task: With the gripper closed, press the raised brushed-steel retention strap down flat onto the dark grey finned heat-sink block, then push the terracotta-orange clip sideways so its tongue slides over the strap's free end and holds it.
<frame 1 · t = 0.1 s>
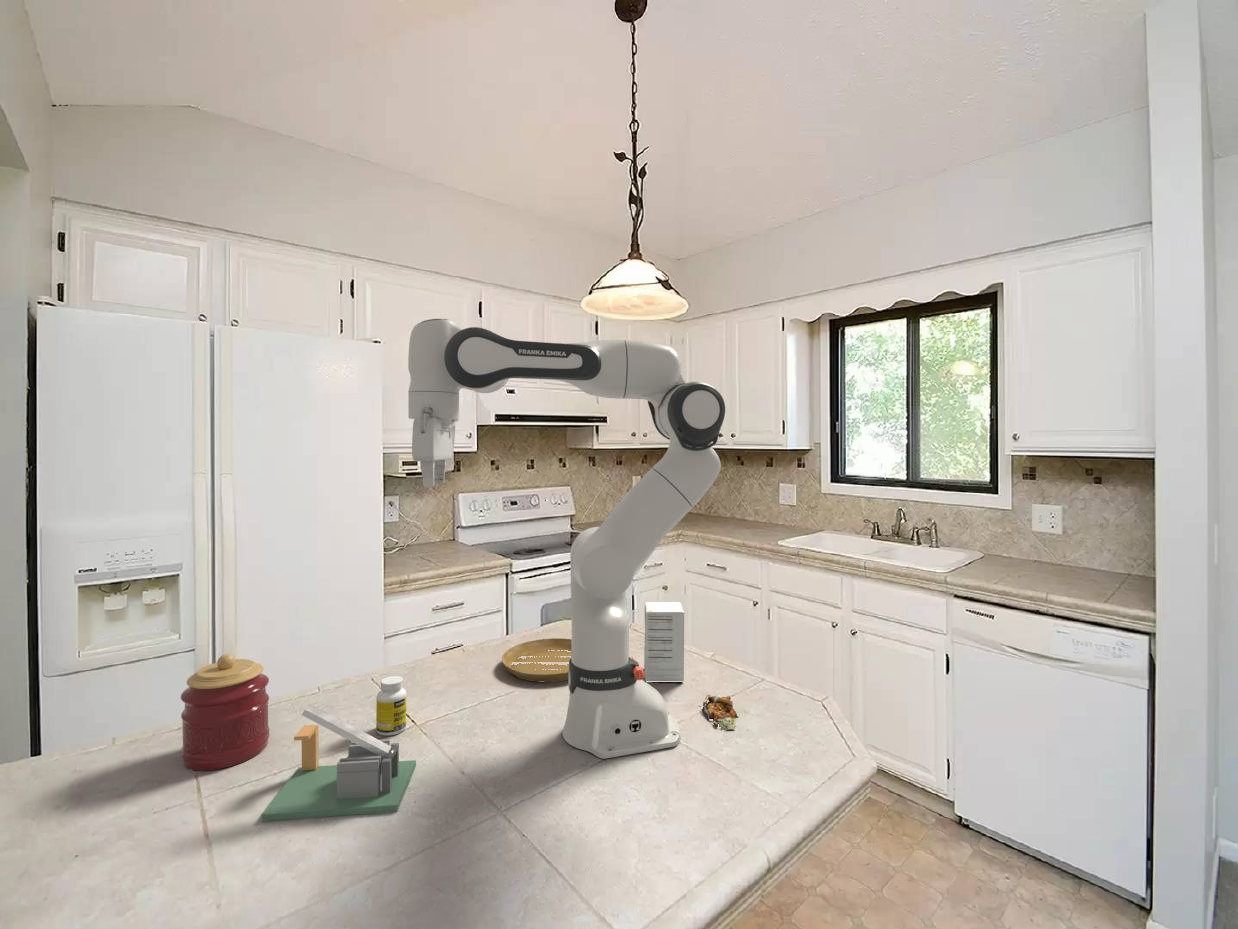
hand: (434, 485, 104), 48 cm above the worktop, fingers open, 8 cm apart
plant saucer: (550, 668, 143), on the worktop
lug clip: (306, 751, 94), point 5 cm above the worktop, slide at 0.0 cm
heatsink base: (344, 792, 90), on the worktop
supplement box: (663, 676, 138), on the worktop
pastry: (722, 719, 117), on the worktop
strap: (350, 733, 90), point 9 cm above the worktop, hinge at 32.0°
supplement bottle: (391, 730, 111), on the worktop
canister: (227, 753, 102), on the worktop
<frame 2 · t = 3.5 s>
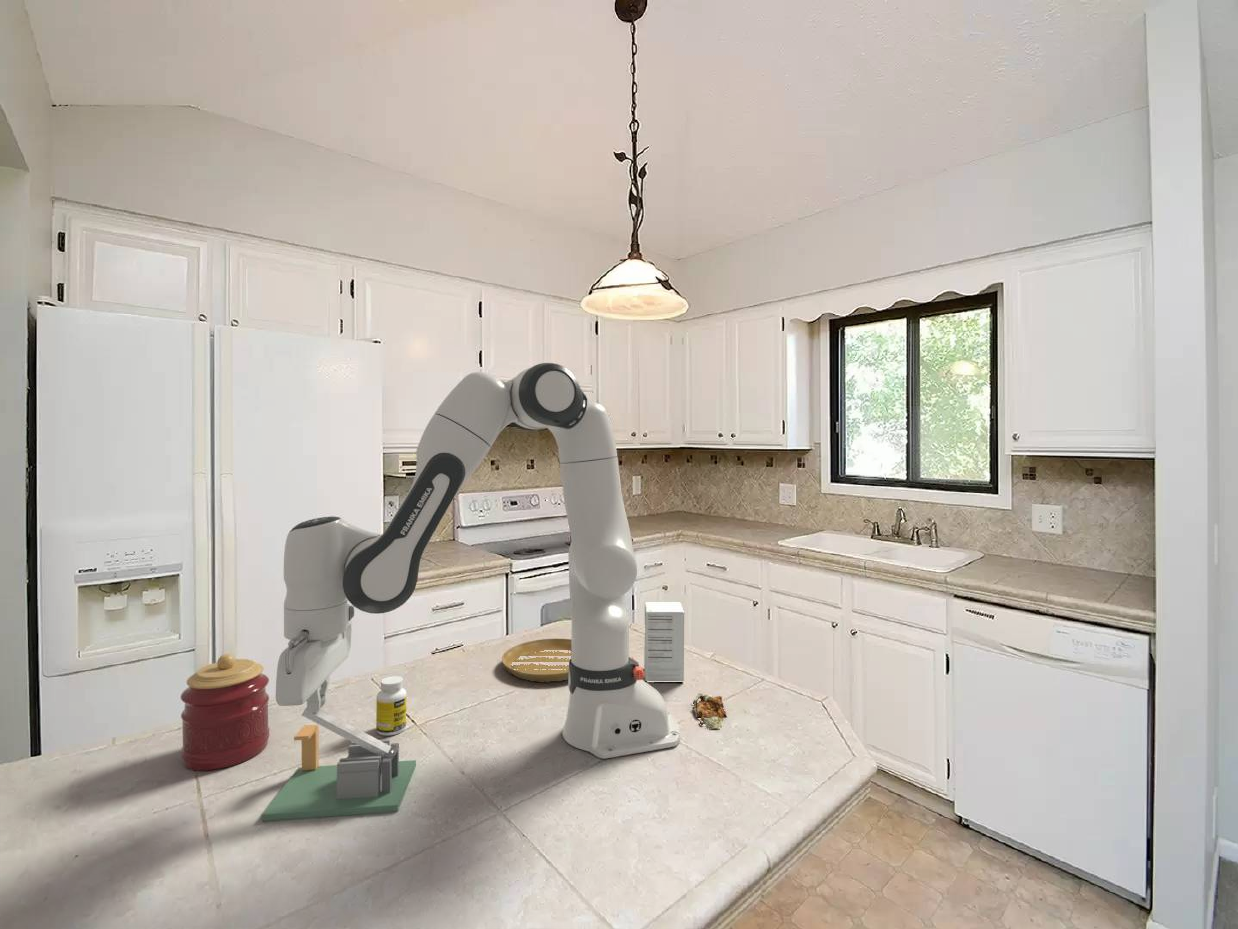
hand: (316, 708, 90), 14 cm above the worktop, fingers closed, pressing on strap
pastry: (711, 718, 117), on the worktop
strap: (350, 733, 90), point 9 cm above the worktop, hinge at 31.9°, touching gripper
everything else where it was.
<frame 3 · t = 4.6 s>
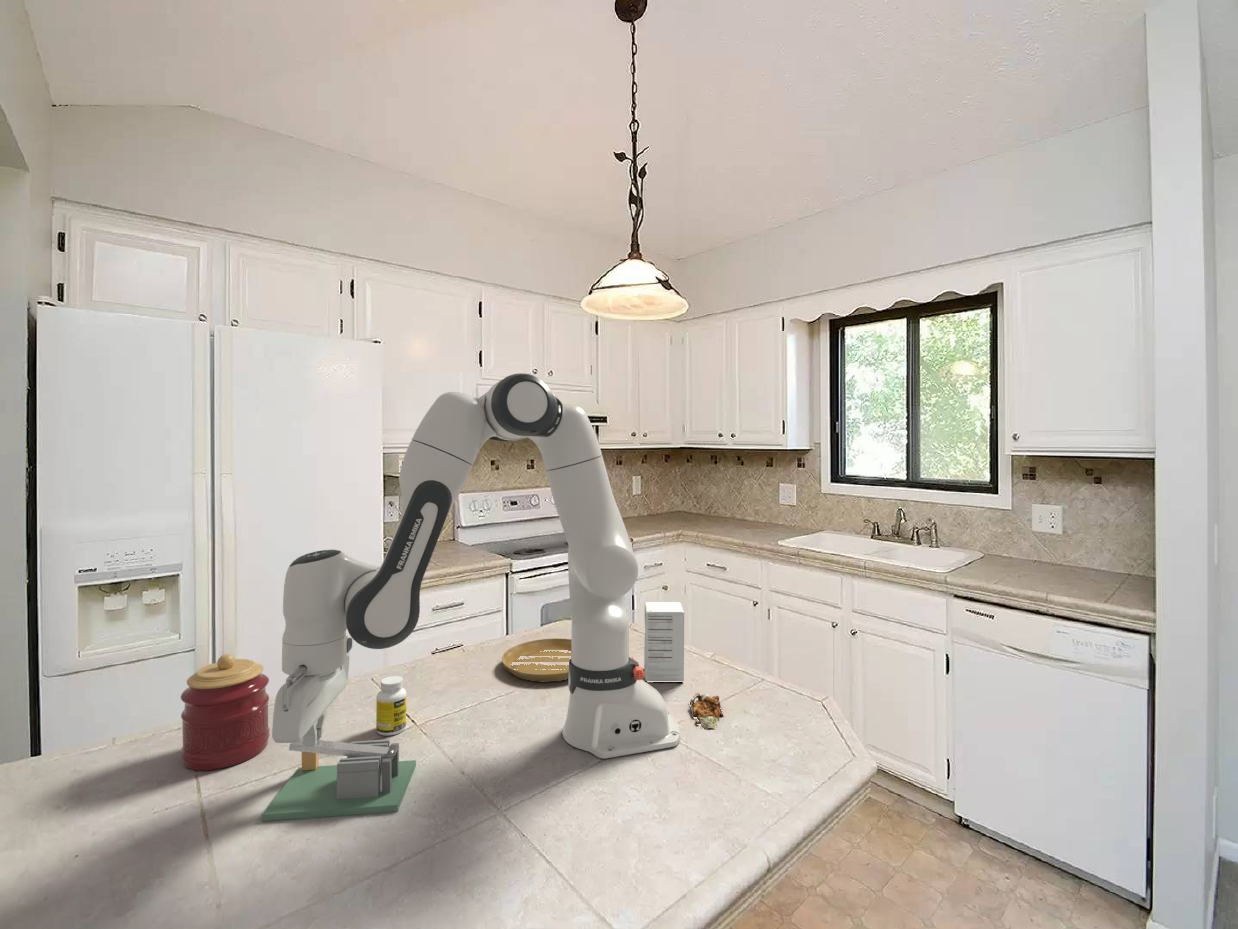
hand: (312, 742, 90), 8 cm above the worktop, fingers closed, pressing on strap
strap: (344, 749, 90), point 7 cm above the worktop, hinge at 9.8°, touching gripper
everything else where it was.
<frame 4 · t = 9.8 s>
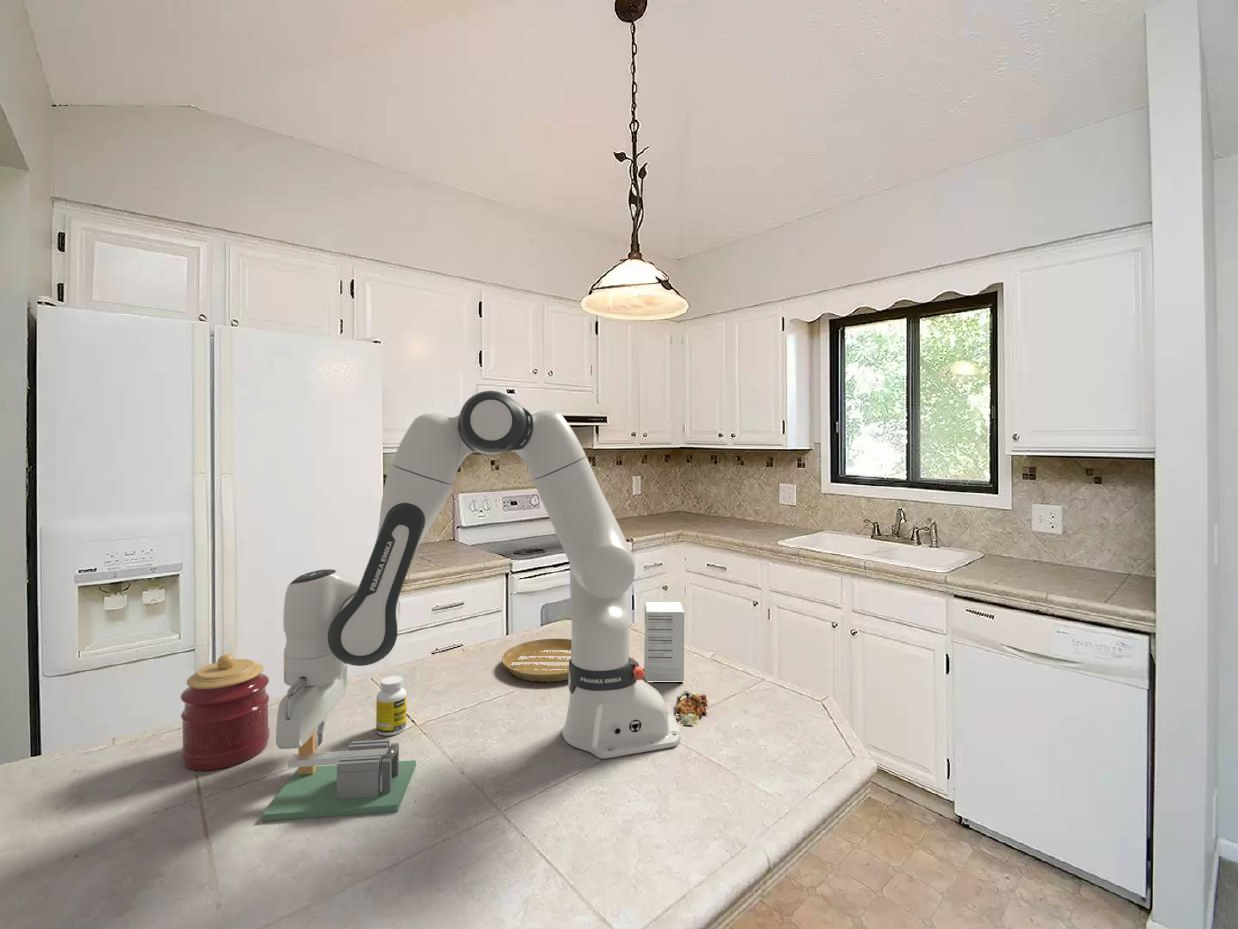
hand: (314, 747, 97), 4 cm above the worktop, fingers closed
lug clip: (303, 755, 93), point 5 cm above the worktop, slide at 1.2 cm, touching gripper
pastry: (691, 715, 119), on the worktop
strap: (343, 757, 90), point 6 cm above the worktop, hinge at -0.6°
everything else where it was.
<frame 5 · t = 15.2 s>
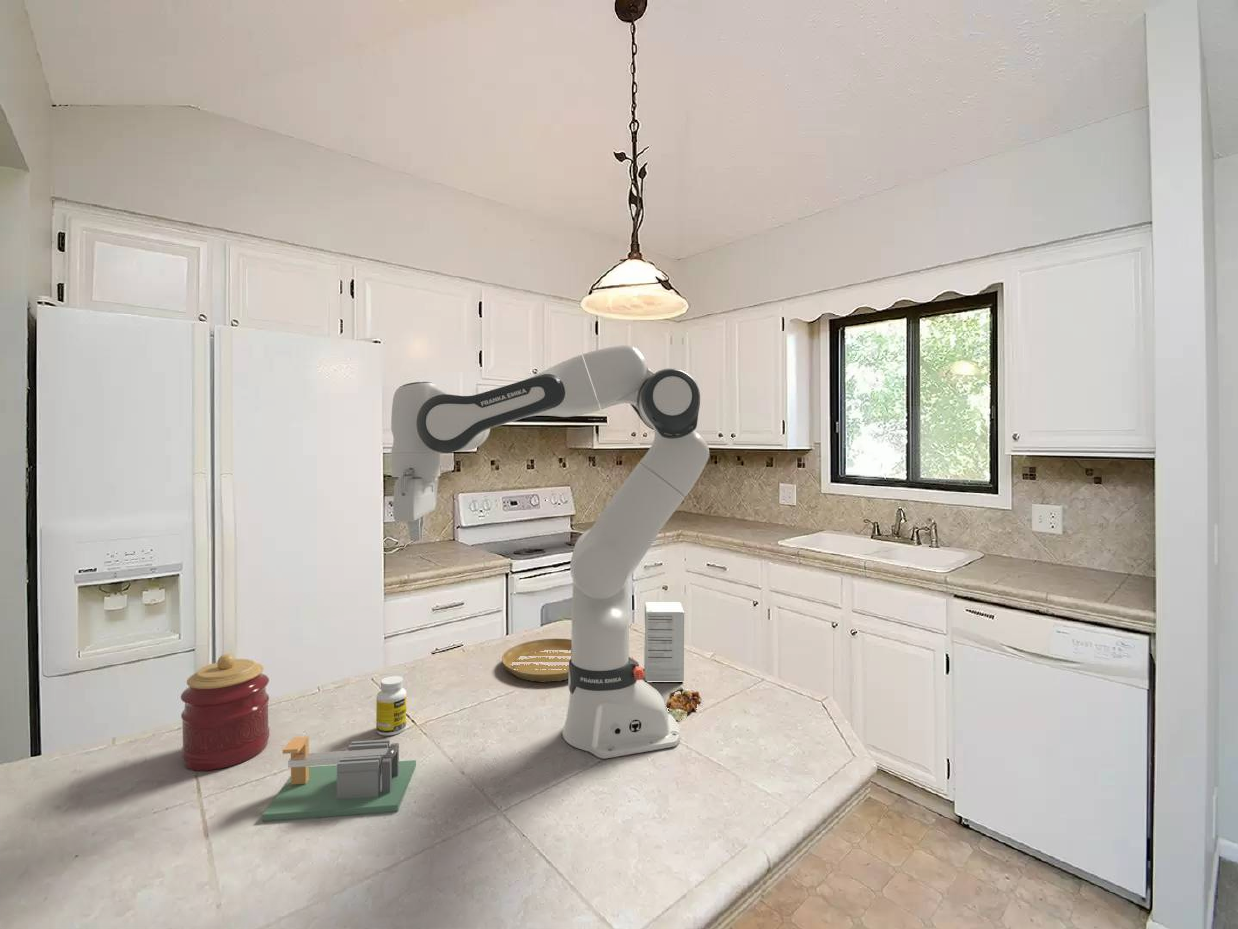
hand: (416, 539, 109), 37 cm above the worktop, fingers closed
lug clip: (296, 765, 90), point 5 cm above the worktop, slide at 4.0 cm
pastry: (682, 711, 121), on the worktop
everything else where it was.
at the end: strap at -1° (first picture: +32°); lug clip slide at 4.0 cm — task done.
